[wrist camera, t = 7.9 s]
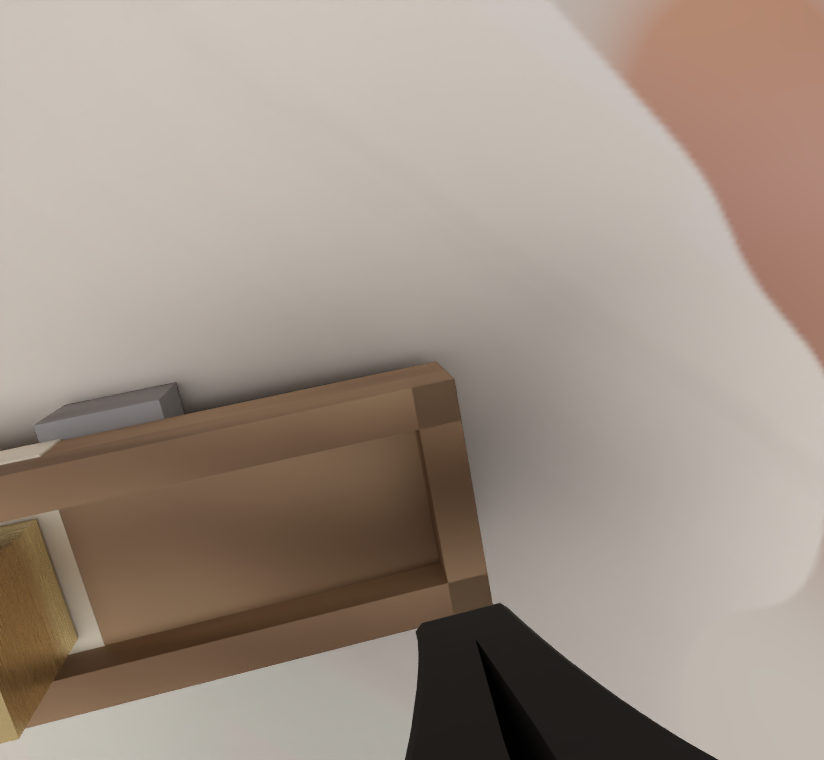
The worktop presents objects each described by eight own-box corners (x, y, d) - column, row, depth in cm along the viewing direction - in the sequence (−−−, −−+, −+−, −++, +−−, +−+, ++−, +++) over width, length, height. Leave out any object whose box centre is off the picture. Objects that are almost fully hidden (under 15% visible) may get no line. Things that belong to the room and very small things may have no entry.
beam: (458, 548, 20) (496, 626, 16) (-113, 688, 18) (-235, 815, 14) (420, 332, 18) (450, 357, 14) (-212, 461, 17) (-382, 532, 13)
